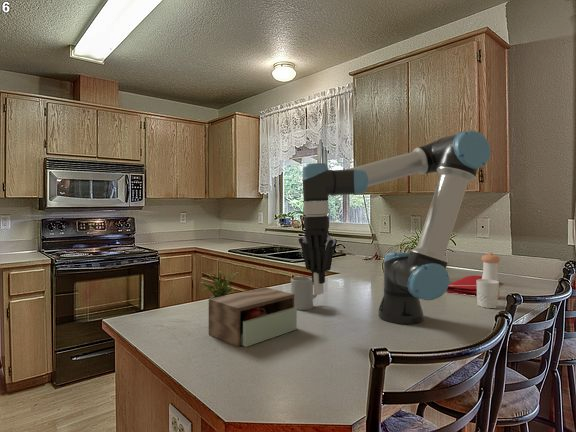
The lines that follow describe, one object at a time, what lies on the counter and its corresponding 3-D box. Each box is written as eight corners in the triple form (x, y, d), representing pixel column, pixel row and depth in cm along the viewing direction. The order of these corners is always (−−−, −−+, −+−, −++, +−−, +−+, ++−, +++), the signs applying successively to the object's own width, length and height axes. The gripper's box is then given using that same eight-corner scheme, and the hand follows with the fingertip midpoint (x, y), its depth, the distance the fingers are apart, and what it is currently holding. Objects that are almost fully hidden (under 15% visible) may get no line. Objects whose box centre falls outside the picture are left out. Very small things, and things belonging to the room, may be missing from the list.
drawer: (296, 329, 121) (296, 307, 121) (245, 346, 106) (245, 322, 106) (264, 319, 131) (265, 299, 131) (214, 334, 116) (214, 311, 116)
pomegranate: (240, 336, 118) (254, 323, 112) (236, 313, 122) (249, 299, 115) (261, 334, 122) (276, 321, 115) (256, 312, 126) (270, 299, 119)
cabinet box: (294, 327, 123) (294, 294, 123) (237, 346, 107) (238, 308, 106) (264, 318, 133) (264, 287, 132) (208, 334, 116) (208, 299, 116)
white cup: (500, 306, 151) (501, 281, 151) (495, 310, 145) (495, 284, 145) (479, 302, 156) (480, 278, 156) (472, 306, 151) (473, 281, 150)
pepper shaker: (494, 300, 161) (496, 254, 160) (477, 296, 166) (478, 252, 166) (502, 297, 165) (503, 253, 165) (484, 294, 171) (485, 251, 170)
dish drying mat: (500, 283, 196) (500, 276, 196) (478, 298, 165) (479, 290, 165) (467, 279, 206) (467, 272, 206) (441, 292, 175) (441, 284, 175)
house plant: (227, 306, 147) (227, 264, 146) (250, 314, 137) (250, 269, 137) (194, 314, 137) (194, 268, 136) (216, 323, 127) (216, 274, 127)
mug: (299, 311, 141) (300, 282, 141) (286, 306, 148) (286, 278, 148) (324, 306, 149) (324, 278, 148) (310, 301, 155) (310, 274, 155)
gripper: (341, 214, 113) (344, 294, 114) (307, 214, 122) (309, 288, 123) (326, 216, 108) (329, 299, 109) (291, 216, 116) (294, 293, 117)
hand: (318, 293), depth 116 cm, fingers closed
